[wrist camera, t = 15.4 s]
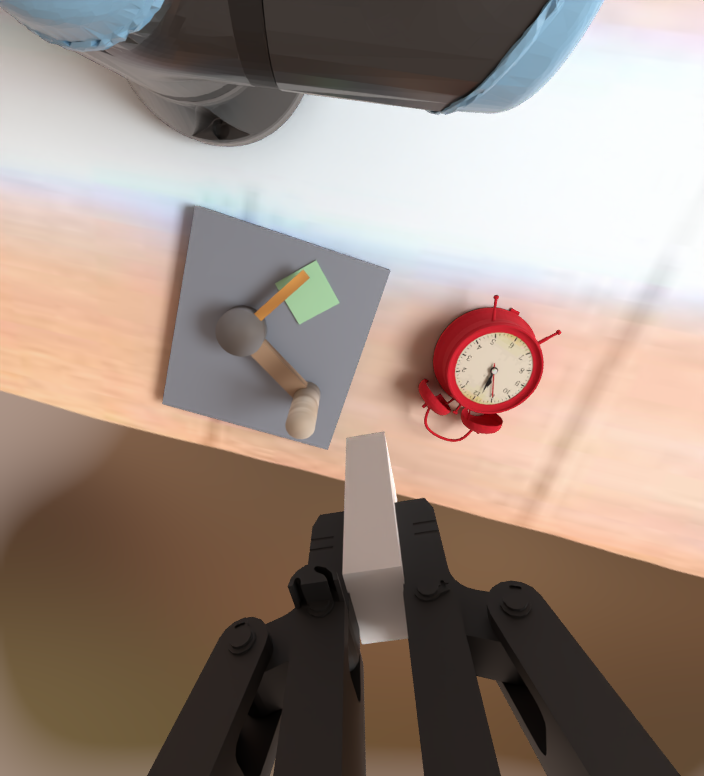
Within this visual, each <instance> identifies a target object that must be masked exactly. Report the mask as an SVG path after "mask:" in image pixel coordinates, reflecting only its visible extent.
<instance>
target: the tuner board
mask: <svg viewBox="0 0 704 776" xmlns="http://www.w3.org/2000/svg"><path fill="white" fill-rule="evenodd" d="M314 261H317V262H318V264H319V266H320V268H321V270H322V271H323V273H324V275H325V277H326V279H327V281H328V282H329V284H330V286H331V288H332V290H333V292H334V293H335V295H336V297H337V299H338V301H339V304H337V305H335V306H333V307H331V308H329V309H328V310H326V311H324V312H322V313H320V314H318V315H316V316H314V317H313V318H311V319H309V320H307V321H305V322H303V323H301V324H299V323H298V322H297V320H296V318H295V317H294V315H293V313H292V312H291V310H290V308H289V307H288V305H287V303H286V301H285V300H284V301H283V302H282V303H281V304H280V305H279V306H278V307H277V308H275V309H274V310H273V311H272V312H271V313H270V314H269V315H268V316H266V317H265V318H264V319H265V321H266V324H267V336H266V338H265V339H266V340H267V341H268V342H269V343H270V344H271V345H272V346H273V347H274V348H275V349H276V350H277V351H278V352H279V353H280V354H281V356H282V357H283V358H284V359H285V360H286V361H287V362H288V363H289V364H290V365H291V366H292V367H293V368H294V369H295V370H296V371H297V372H298V373H299V374H300V375H301V376H302V377H303V379H304V380H305V381H306V382H312V383H314V384H315V385H317V386H318V388H319V389H320V400H319V406H318V413H317V419H316V425H315V430H314V433H313V434H312V435H311V436H310V437H308V438H306V439H296V438H293V437H292V436H290V435H289V434H288V432H287V431H286V428H285V423H286V420H287V417H288V413H289V410H290V407H291V403H292V400H293V398H292V397H291V396H290V395H289V394H288V393H287V392H286V391H285V390H284V389H283V388H282V387H281V386H280V385H279V384H278V383H277V382H276V381H275V380H274V379H273V377H272V376H271V375H270V374H269V373H268V372H267V371H266V370H265V369H264V368H263V367H262V366H261V365H260V364H259V363H258V362H257V361H256V360H255V359H254V358H253V357H252V356H251V355H249V356H245V357H239V356H234V355H232V354H230V353H228V352H226V351H225V350H224V349H223V348H222V347H221V346H220V344H219V343H218V341H217V338H216V333H215V329H216V324H217V322H218V320H219V319H220V318H221V316H222V315H224V314H225V313H226V312H227V311H228V310H229V309H231V308H233V307H235V306H240V305H245V306H249V307H252V308H254V309H256V310H259V309H260V308H261V307H262V306H263V305H264V304H265V303H266V302H267V301H269V300H270V299H271V298H272V297H273V296H274V295H275V294H276V293H277V292H279V290H278V288H277V286H276V285H275V283H276V282H278V281H280V280H282V279H284V278H285V277H287V276H289V275H291V274H293V273H294V272H296V271H298V270H300V269H301V268H303V267H305V266H307V265H309V264H310V263H312V262H314ZM389 273H390V270H389V269H386V268H383V267H380V266H377V265H374V264H371V263H368V262H365V261H362V260H359V259H356V258H353V257H350V256H347V255H344V254H341V253H338V252H335V251H332V250H329V249H326V248H323V247H320V246H318V245H315V244H312V243H309V242H306V241H303V240H300V239H297V238H294V237H291V236H288V235H285V234H282V233H279V232H276V231H273V230H270V229H267V228H264V227H261V226H258V225H255V224H252V223H249V222H246V221H243V220H240V219H237V218H234V217H231V216H228V215H225V214H222V213H219V212H216V211H213V210H210V209H207V208H204V207H201V206H195V208H194V214H193V221H192V227H191V233H190V239H189V245H188V251H187V257H186V263H185V269H184V275H183V281H182V287H181V293H180V299H179V305H178V311H177V317H176V323H175V330H174V336H173V342H172V348H171V354H170V360H169V366H168V372H167V378H166V384H165V390H164V396H163V402H162V404H164V405H168V406H171V407H175V408H179V409H182V410H186V411H189V412H193V413H197V414H200V415H204V416H208V417H211V418H215V419H218V420H222V421H226V422H229V423H233V424H236V425H240V426H244V427H247V428H251V429H255V430H258V431H262V432H265V433H269V434H273V435H276V436H280V437H283V438H287V439H291V440H294V441H298V442H301V443H305V444H309V445H312V446H316V447H320V448H323V449H327V450H328V448H329V445H330V442H331V439H332V436H333V433H334V430H335V428H336V425H337V422H338V419H339V416H340V413H341V410H342V408H343V405H344V402H345V399H346V396H347V393H348V390H349V388H350V385H351V382H352V379H353V376H354V373H355V370H356V368H357V365H358V362H359V359H360V356H361V353H362V350H363V348H364V345H365V342H366V339H367V336H368V333H369V330H370V328H371V325H372V322H373V319H374V316H375V313H376V310H377V308H378V305H379V302H380V299H381V296H382V293H383V290H384V288H385V285H386V282H387V279H388V276H389Z"/></svg>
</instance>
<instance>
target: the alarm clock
mask: <svg viewBox="0 0 704 776" xmlns="http://www.w3.org/2000/svg"><path fill="white" fill-rule="evenodd" d="M494 299H495V301H494V308H481V309H476V310H473V311H470V312H468V313H465V314H463V315H462V316H460V317H458V318H457V319H456V320H454V321H453V322H452V323H451V324H450V325H449V326H448V327H447V328H446V329H445V330H444V332H443V333H442V334H441V336H440V338H439V340H438V342H437V344H436V347H435V351H434V356H433V367H434V372H435V375H436V378H437V380H438V382H439V384H440V386H441V387H442V388H443V390H444V391H445V392H446V393H447V394H448V395H449V396H450V397H452V398H453V399H451V400H450V401H449V402H446V400H445V399H444V397H443V396H442V395H441V394H439V395H438V396H434V394H433V393H432V392H431V390H430V389H429V388H428V386H427V384H426V383H427V382H428V380H427V379H424V380H422V381H421V382H420V384H419V393H420V395H421V397H422V398H423V400H424V401H425V404H424V405H422V407H423V408H425V407H426V406H427V407H428V409H427V412H426V414H425V418H424V424H425V427H426V428H427V430H428V431H429V432H430V433H432V434H433V435H435V436H436V437H438V438H440V439H443V440H446V441H451V442H457V441H461V440H463V439H465V438H466V437H467V436H468V435H469V434H470V433H471V432H472V431H475V432H477V434H479V433H485V434H490V433H495V432H497V431H498V430H500V428H501V426H502V423H503V420H502V419H501V417H500V416H499V415H498V414H496V413H501V412H504V411H508V410H510V409H512V408H515V407H516V406H518V405H520V404H521V403H523V402H524V401H525V400H526V399H527V398H528V397H529V396H530V395H531V394H532V393H533V392H534V390H535V389H536V387H537V386H538V384H539V382H540V379H541V376H542V373H543V363H544V361H543V354H542V350H541V348H540V344H541V343H543V342H545V341H547V340H549V339H550V338H551V337H553V336H555V335H557V334H558V335H559V334H561V331H560V330H557V331H556V333H554V334H552V335H550V336H548V337H546V338H544V339H542V340H540V341H537V340H536V338H535V335H534V333H533V331H532V329H531V328H530V326H529V325H528V324H527V323H526V322H525V321H524V320H523V319H522V318H521V317H519V316H518V315H519V313H520V312H518V311H516V310H514V309H513V308H512V309H511V310H510V311H508V310H505V309H501V308H496V305H497V299H499V296H498V295H495V296H494ZM454 399H455V400H456V401H457V402H458V403H459V406H458V407H457V409H456V410H454V411H453V413H454V414H456V415H457V414H458V412H457V411H458V409H459V408H460V407H461V405H462V406H463V407H465V408H464V409H463V410H462V412H461V420H462V422H463V424H464V425H465V426H466V427H467V428H469V429H470V431H469V432H468V433H467V434H466V435H464V436H463V437H461V438H460V439H447V438H445V437H442V436H439V435H438V434H436V433H434V432H433V431H431V430H430V428H429V427H428V425H427V416H428V413H429V410H430V409H432V410H433V411H434V412H435V413H437V414H439V415H446V414H448V413H450V412H451V409H450V407H449V405H448V404H449V403H450V402H451V401H453V400H454ZM468 409H469V413H468ZM470 411H474V412H477V413H483V414H484V415H481V416H473V415H471V414H470Z"/></svg>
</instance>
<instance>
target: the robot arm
mask: <svg viewBox="0 0 704 776" xmlns="http://www.w3.org/2000/svg"><path fill="white" fill-rule="evenodd" d="M603 2H604V0H0V8H2V9H3V10H5V11H6V12H7V13H9V14H10V15H12V16H13V17H14V18H15V19H16V20H17V21H18V22H19V23H21V24H23V25H25V26H26V27H27V28H28V29H29V30H30V31H31V32H33V33H35V34H38V35H39V36H40V37H41V38H42V39H44V40H45V41H47V42H49V43H53V44H57V45H60V46H61V47H63V48H65V49H68V50H72V51H75V52H77V53H78V54H80V55H82V56H84V57H86V58H88V59H90V60H92V61H94V62H96V63H98V64H100V65H102V66H104V67H106V68H108V69H110V70H111V71H113V72H115V73H117V74H119V75H121V76H123V77H125V78H126V79H127V81H128V82H129V84H130V86H131V87H132V89H133V90H134V92H135V93H136V94H137V96H138V97H139V98H140V100H141V101H142V102H143V103H144V104H145V105H146V106H147V107H148V108H149V109H150V110H151V112H152V113H154V114H155V115H156V116H157V117H158V118H159V119H160V120H162V121H163V122H164V123H165V124H167V125H168V126H170V127H171V128H173V129H174V130H176V131H178V132H179V133H181V134H183V135H185V136H188V137H190V138H193V139H195V140H198V141H201V142H204V143H207V144H211V145H216V146H226V147H231V146H242V145H247V144H250V143H254V142H256V141H259V140H261V139H263V138H265V137H267V136H268V135H270V134H272V133H273V132H274V131H276V130H277V129H278V128H279V127H281V126H282V125H283V124H284V123H285V122H286V121H287V120H288V119H289V117H290V116H291V115H292V114H293V112H294V111H295V109H296V108H297V106H298V105H299V103H300V101H301V99H302V97H303V95H304V94H309V95H317V96H324V97H332V98H340V99H347V100H355V101H363V102H370V103H378V104H386V105H393V106H401V107H408V108H416V109H424V110H426V111H427V112H429V113H432V114H437V115H439V114H440V113H442V114H445V115H446V114H449V113H453V112H456V111H460V112H475V113H499V112H503V111H507V110H509V109H512V108H514V107H516V106H518V105H520V104H521V103H523V102H524V101H526V100H527V99H529V98H530V97H532V96H533V95H534V94H535V93H536V92H538V91H539V90H540V89H541V88H542V87H543V86H544V85H545V84H546V83H547V82H548V81H549V80H550V79H551V78H552V76H553V75H554V74H555V73H556V72H557V71H558V70H559V68H560V67H561V66H562V65H563V63H564V62H565V61H566V59H567V58H568V57H569V55H570V54H571V52H572V51H573V50H574V48H575V47H576V45H577V44H578V42H579V41H580V40H581V38H582V37H583V35H584V34H585V32H586V30H587V29H588V27H589V25H590V24H591V22H592V20H593V19H594V17H595V16H596V14H597V12H598V11H599V9H600V7H601V5H602V4H603ZM288 588H289V591H290V594H291V596H292V599H293V602H294V605H295V608H294V609H293V610H292V611H291V612H289V613H288V614H286V615H285V616H283V617H281V618H278V619H276V620H274V621H272V622H269V623H267V624H264V622H263V621H262V620H261V619H258V618H255V617H248V618H243V619H240V620H238V621H236V622H234V623H233V624H232V625H230V626H229V627H228V628H227V629H226V630H225V631H224V633H223V634H222V636H221V637H220V638H219V640H218V642H217V644H216V646H215V648H214V650H213V652H212V653H211V655H210V657H209V659H208V661H207V663H206V665H205V667H204V669H203V670H202V672H201V674H200V676H199V678H198V680H197V682H196V684H195V686H194V688H193V689H192V691H191V694H190V695H189V697H188V699H187V701H186V703H185V705H184V707H183V708H182V711H181V712H180V714H179V716H178V718H177V720H176V722H175V724H174V726H173V728H172V729H171V732H170V733H169V735H168V737H167V739H166V741H165V743H164V745H163V747H162V749H161V750H160V752H159V754H158V756H157V758H156V760H155V762H154V764H153V766H152V768H151V769H150V771H149V773H148V775H147V776H270V773H271V770H272V767H273V764H274V761H275V767H274V774H273V776H366V765H365V764H366V760H365V720H364V719H365V717H364V672H363V661H362V657H361V653H360V638H361V641H362V644H367V643H375V642H383V641H391V640H399V639H407V638H408V641H409V649H410V658H411V666H412V674H413V683H414V691H415V700H416V709H417V717H418V726H419V735H420V743H421V751H422V760H423V769H424V776H501V775H500V771H499V767H498V762H497V758H496V754H495V750H494V746H493V742H492V738H491V734H490V730H489V726H488V722H487V718H486V714H485V710H484V706H483V702H482V697H481V693H480V689H479V686H478V682H477V677H476V676H479V677H484V678H488V679H492V680H496V681H497V683H498V685H499V687H500V689H501V691H502V692H503V694H504V696H505V698H506V700H507V702H508V704H509V706H510V707H511V709H512V711H513V713H514V715H515V717H516V719H517V720H518V722H519V724H520V726H521V728H522V730H523V732H524V733H525V735H526V737H527V739H528V741H529V743H530V745H531V746H532V748H533V750H534V752H535V754H536V756H537V758H538V759H539V761H540V763H541V765H542V767H543V769H544V771H545V772H546V774H547V776H680V774H679V773H678V772H677V771H676V769H675V768H674V767H673V765H672V764H671V763H670V762H669V760H668V759H667V758H666V756H665V755H664V754H663V753H662V751H661V750H660V749H659V747H658V746H657V745H656V743H655V742H654V741H653V739H652V738H651V737H650V736H649V734H648V733H647V732H646V731H645V729H644V728H643V727H642V725H641V724H640V723H639V721H638V720H637V719H636V718H635V716H634V715H633V714H632V712H631V711H630V710H629V708H628V707H627V706H626V705H625V703H624V702H623V701H622V699H621V698H620V697H619V696H618V694H617V693H616V692H615V690H614V689H613V688H612V687H611V686H610V684H609V683H608V681H607V680H606V679H605V677H604V676H603V675H602V674H601V673H600V671H599V670H598V668H597V667H596V666H595V665H594V663H593V662H592V661H591V659H590V658H589V657H588V656H587V654H586V653H585V652H584V651H583V649H582V648H581V646H580V645H579V644H578V643H577V641H576V640H575V639H574V638H573V636H572V635H571V634H570V632H569V631H568V630H567V628H566V627H565V626H564V625H563V623H562V622H561V621H560V619H559V618H558V617H557V615H556V614H555V613H554V612H553V610H552V609H551V608H550V606H549V605H548V604H547V603H546V601H545V600H544V599H543V597H542V596H541V595H540V594H539V593H538V592H537V591H536V590H535V589H534V588H533V587H531V586H529V585H527V584H524V583H522V582H517V581H506V582H500V583H499V584H497V585H495V586H494V587H492V589H491V590H490V592H486V591H480V590H475V589H471V588H467V587H465V586H463V585H461V584H460V583H459V582H457V581H456V580H455V579H454V578H453V577H452V575H451V574H450V572H449V569H448V566H447V562H446V558H445V554H444V550H443V546H442V541H441V537H440V533H439V530H438V525H437V522H436V517H435V513H434V509H433V507H432V506H431V505H430V504H429V503H428V501H427V500H426V499H425V498H421V499H414V500H408V501H401V502H397V497H396V490H395V484H394V479H393V474H392V468H391V463H390V458H389V453H388V448H387V442H386V437H385V432H378V433H372V434H366V435H360V436H355V437H349V438H346V469H345V503H344V511H343V512H336V513H330V514H323V515H320V516H319V517H318V519H317V521H316V522H315V524H314V526H313V528H312V536H311V545H310V553H309V561H308V565H305V566H304V567H302V568H301V569H299V570H298V571H297V572H296V573H295V574H294V575H293V576H292V578H291V579H290V582H289V585H288ZM275 758H276V760H275Z"/></svg>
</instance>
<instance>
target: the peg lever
mask: <svg viewBox="0 0 704 776" xmlns="http://www.w3.org/2000/svg"><path fill="white" fill-rule="evenodd" d="M309 278H310V277H309V276H308V274H307V273H306V272H305V271H304V270H302V271H301V272H300V273H299V274H298V275H296V276H295V277H294V278H293V279H292V280H291V281H290V282H289V283H287V284H286V285H285V286H284V287H283V288H282V289H281V290H280V291H279V292H277V293H276V294H275V295H274V296H273V297H272V298H271V299H270V300H269V301H267V302H266V303H265V304H264V305H263V306H262V307H261V308H260V309H259V310H256V309H254V308H252V307H249V306H245V305H240V306H235V307H233V308H231V309H229V310H228V311H227V312H226V313H225V314H224V315H222V316H221V318H220V319H219V320H218V322H217V324H216V329H215V333H216V338H217V341H218V343H219V344H220V346H221V347H222V348H223V349H224V350H225V351H226V352H228V353H230V354H232V355H234V356H239V357H245V356H249V355H251V356H252V357H253V358H254V359H255V360H256V361H257V362H258V363H259V364H260V365H261V366H262V367H263V368H264V369H265V370H266V371H267V372H268V373H269V374H270V375H271V376H272V377H273V379H274V380H275V381H276V382H277V383H278V384H279V385H280V386H281V387H282V388H283V389H284V390H285V391H286V392H287V393H288V394H289V395H290V396H291V397H292V398H293V400H292V403H291V407H290V410H289V413H288V417H287V420H286V423H285V428H286V431H287V432H288V434H289V435H290V436H292V437H293V438H296V439H306V438H308V437H310V436H311V435H312V434H313V433H314V430H315V425H316V419H317V413H318V406H319V400H320V389H319V388H318V386H317V385H315V384H314V383H312V382H306V381H305V380H304V379H303V377H302V376H301V375H300V374H299V373H298V372H297V371H296V370H295V369H294V368H293V367H292V366H291V365H290V364H289V363H288V362H287V361H286V360H285V359H284V358H283V357H282V356H281V354H280V353H279V352H278V351H277V350H276V349H275V348H274V347H273V346H272V345H271V344H270V343H269V342H268V341H267V340H266V339H265V338H266V336H267V324H266V321H265V319H264V318H265V317H266V316H268V315H269V314H270V313H271V312H272V311H273V310H274V309H275V308H277V307H278V306H279V305H280V304H281V303H282V302H283V301H284V300H286V299H287V298H288V297H289V296H290V295H291V294H292V293H294V292H295V291H296V290H297V289H298V288H299V287H300V286H301V285H303V284H304V283H305V282H306V281H307V280H308V279H309Z"/></svg>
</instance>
